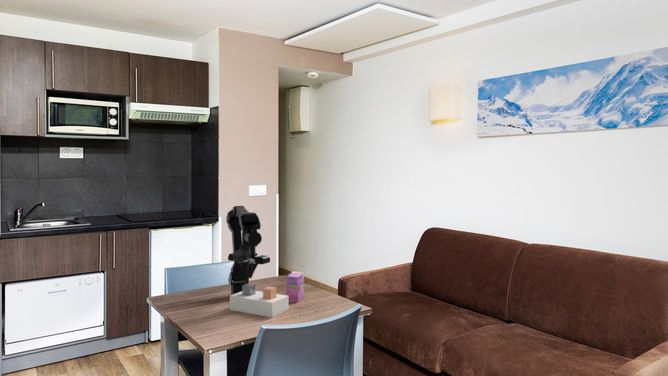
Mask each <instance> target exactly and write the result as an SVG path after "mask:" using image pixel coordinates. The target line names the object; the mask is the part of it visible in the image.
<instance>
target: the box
mask: <svg viewBox="0 0 668 376" xmlns="http://www.w3.org/2000/svg"><path fill="white" fill-rule="evenodd" d="M285 288H286V291H285V292H286V294H285V295H287V296H289V303H299V302H300V301H301V299H303V297H305V272H304V271H291V273H289V274H288V275H287V276H286V287H285Z"/></svg>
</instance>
